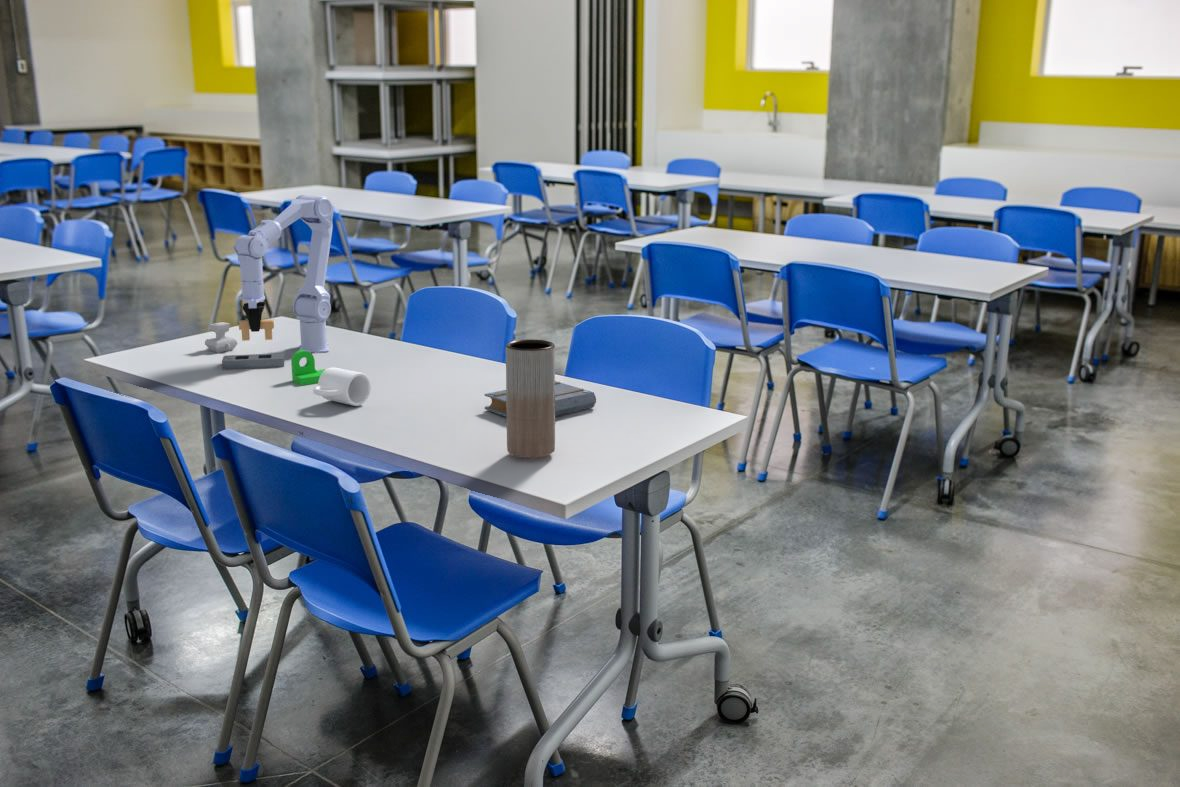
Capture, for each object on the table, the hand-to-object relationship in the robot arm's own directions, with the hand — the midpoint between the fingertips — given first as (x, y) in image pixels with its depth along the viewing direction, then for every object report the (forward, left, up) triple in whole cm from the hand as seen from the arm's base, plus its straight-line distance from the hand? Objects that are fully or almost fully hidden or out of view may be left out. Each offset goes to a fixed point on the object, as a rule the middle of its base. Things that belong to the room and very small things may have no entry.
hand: (255, 330), depth 301 cm
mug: (+45, +21, -10) cm, 50 cm away
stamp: (-20, -11, -10) cm, 25 cm away
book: (+58, +67, -11) cm, 90 cm away
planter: (+91, +59, -10) cm, 109 cm away
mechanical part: (+19, +16, -10) cm, 27 cm away
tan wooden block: (0, 0, -2) cm, 3 cm away
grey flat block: (0, -1, -10) cm, 10 cm away
